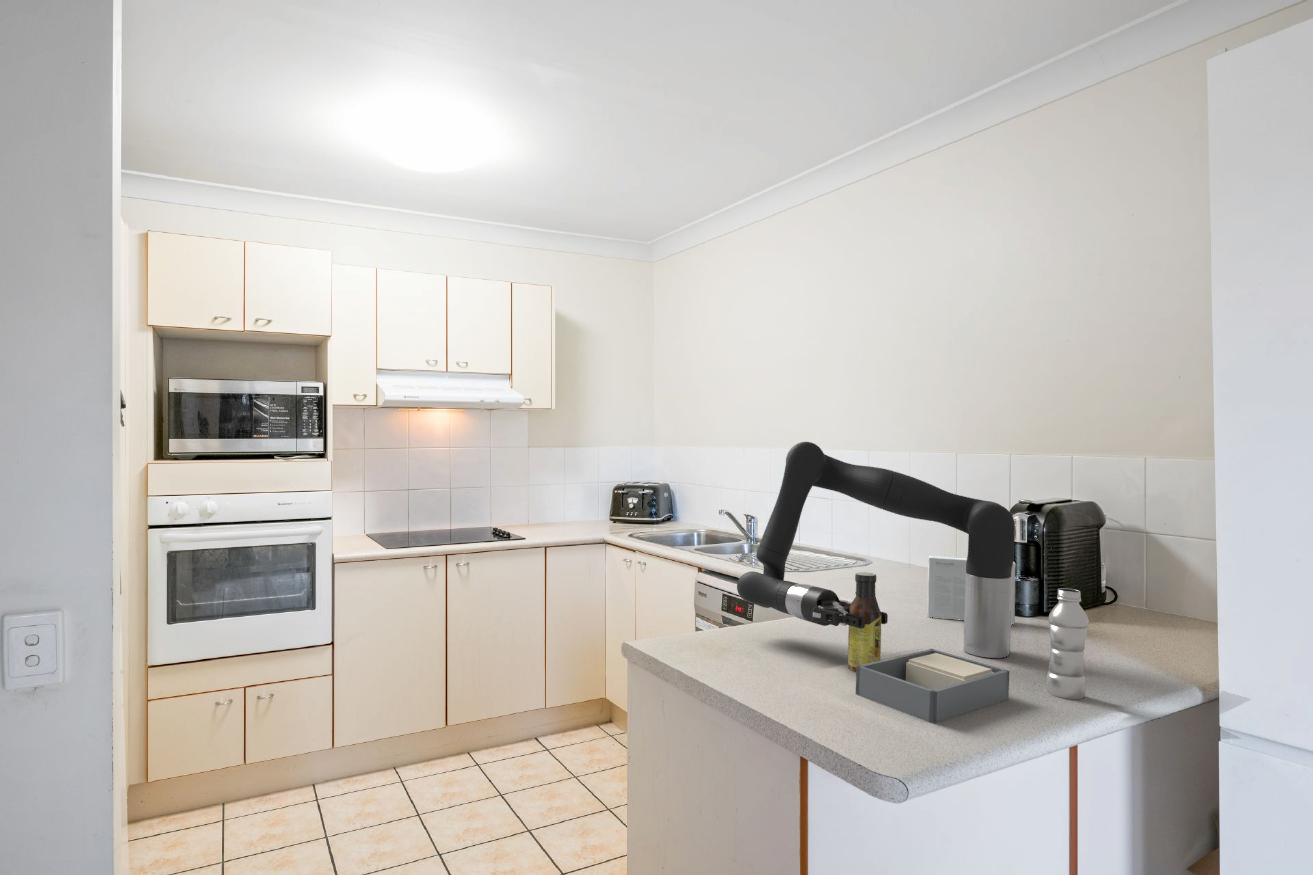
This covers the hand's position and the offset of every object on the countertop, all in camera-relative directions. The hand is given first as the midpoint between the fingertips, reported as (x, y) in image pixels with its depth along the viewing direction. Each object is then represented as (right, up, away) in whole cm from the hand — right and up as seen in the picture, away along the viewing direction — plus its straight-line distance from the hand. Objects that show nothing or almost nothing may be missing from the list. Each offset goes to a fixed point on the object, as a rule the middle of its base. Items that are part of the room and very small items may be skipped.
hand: (875, 620), depth 150 cm
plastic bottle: (+32, -12, -10) cm, 36 cm away
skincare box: (+39, -12, +50) cm, 65 cm away
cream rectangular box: (+11, -10, -10) cm, 18 cm away
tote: (+6, -11, -13) cm, 18 cm away
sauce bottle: (-2, -11, +2) cm, 11 cm away
